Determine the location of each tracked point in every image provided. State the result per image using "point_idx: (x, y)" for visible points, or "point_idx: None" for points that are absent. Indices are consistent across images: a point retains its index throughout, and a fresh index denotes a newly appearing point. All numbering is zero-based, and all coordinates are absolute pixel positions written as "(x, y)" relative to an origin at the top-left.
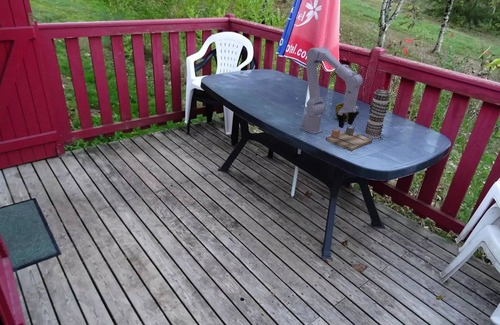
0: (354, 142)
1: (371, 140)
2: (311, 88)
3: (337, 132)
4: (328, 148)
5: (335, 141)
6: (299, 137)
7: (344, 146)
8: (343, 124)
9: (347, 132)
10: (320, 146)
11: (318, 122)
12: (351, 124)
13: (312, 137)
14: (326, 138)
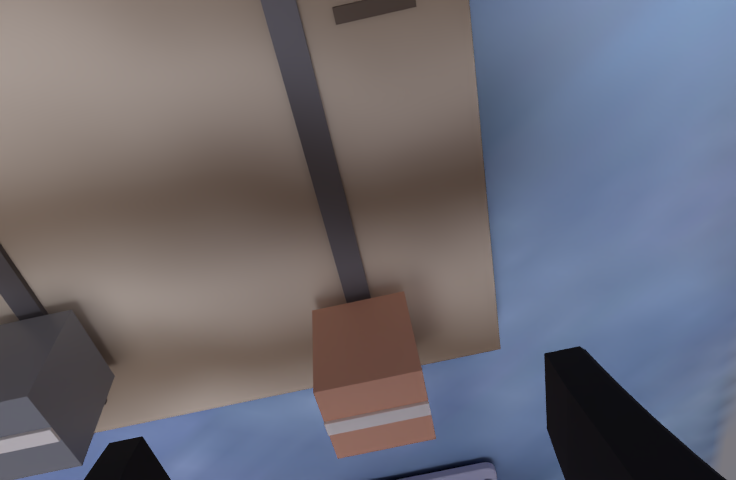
0: (166, 53)
1: None
2: None
3: (395, 361)
4: (694, 99)
5: (483, 209)
6: (687, 437)
7: (463, 11)
8: (664, 432)
9: (92, 371)
10: (723, 195)
11: None
12: (124, 451)
13: None
14: (496, 332)
